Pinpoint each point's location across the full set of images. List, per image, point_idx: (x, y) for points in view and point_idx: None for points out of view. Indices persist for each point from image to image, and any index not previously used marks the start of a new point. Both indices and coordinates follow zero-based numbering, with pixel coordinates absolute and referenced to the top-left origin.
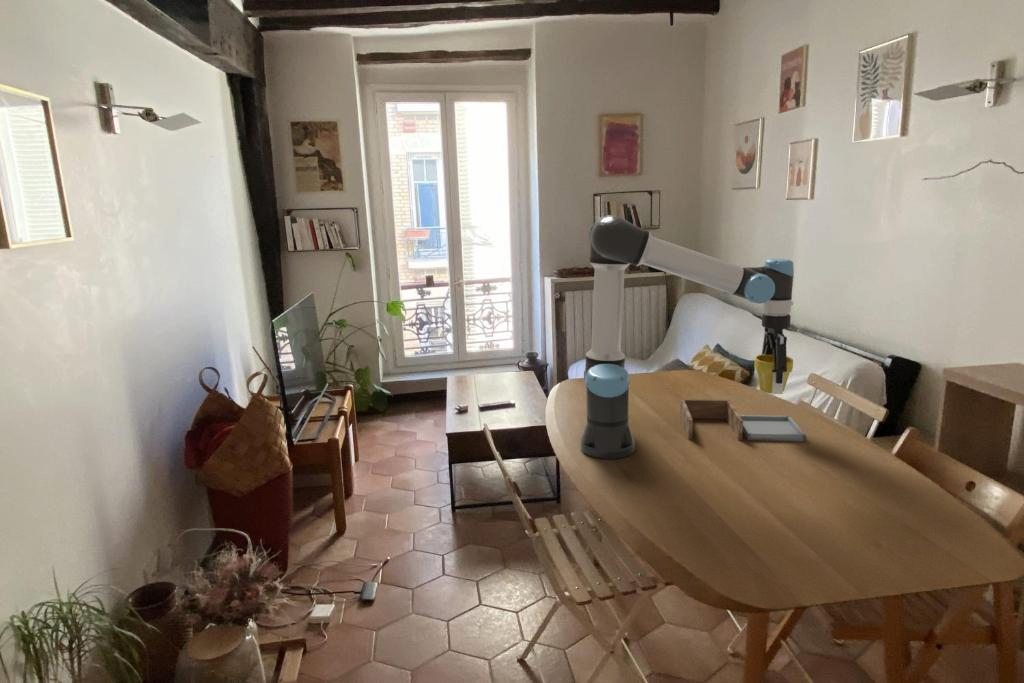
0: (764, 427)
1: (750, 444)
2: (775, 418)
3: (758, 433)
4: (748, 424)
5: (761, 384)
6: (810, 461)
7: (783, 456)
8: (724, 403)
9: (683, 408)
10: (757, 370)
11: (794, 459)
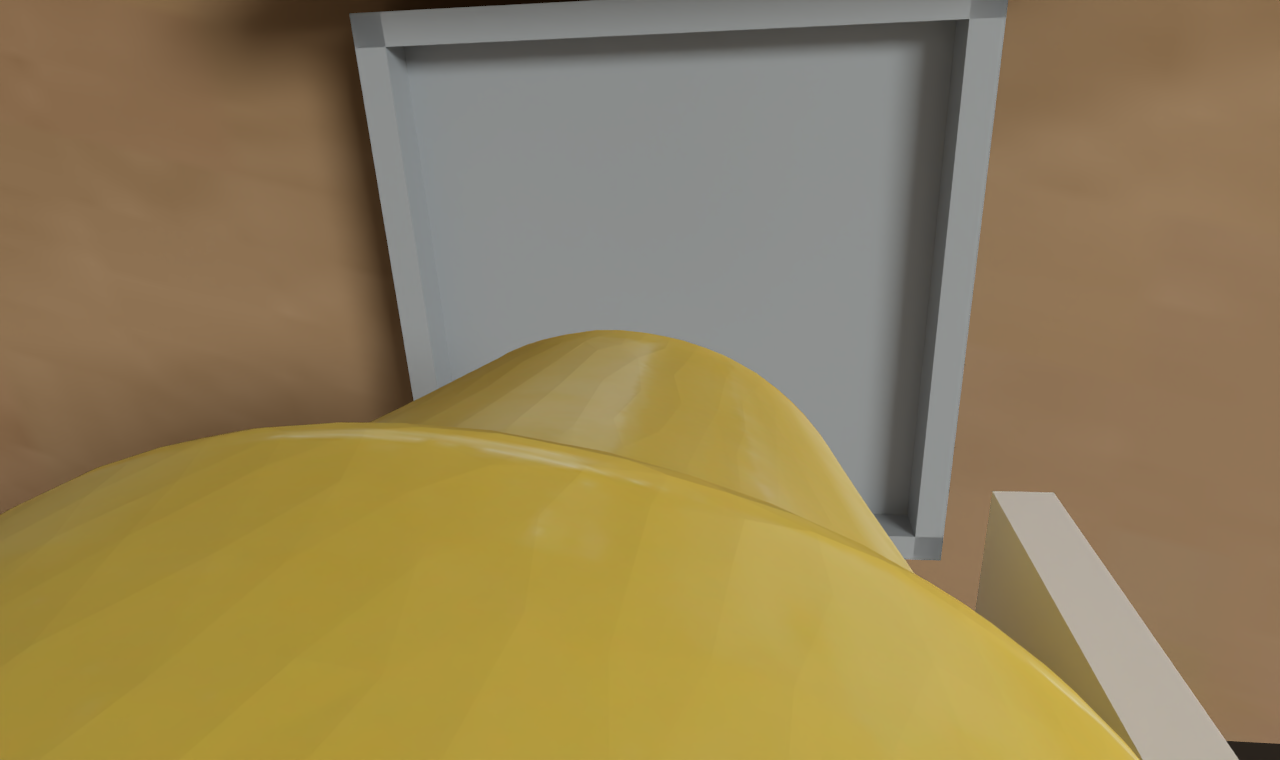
0: (696, 256)
1: (278, 20)
2: (919, 421)
3: (383, 133)
4: (784, 99)
5: (447, 385)
6: (66, 430)
7: (89, 263)
8: None
9: None
10: (126, 458)
11: (60, 331)
